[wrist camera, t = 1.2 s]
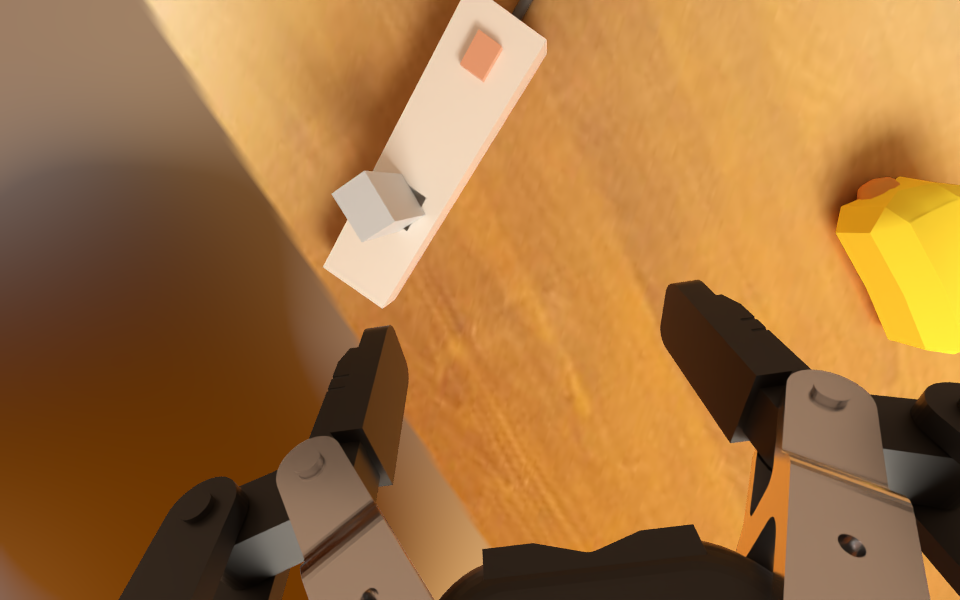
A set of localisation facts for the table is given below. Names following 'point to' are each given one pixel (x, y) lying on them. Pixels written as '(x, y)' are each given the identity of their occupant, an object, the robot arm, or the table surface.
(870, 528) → the robot arm
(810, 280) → the table surface
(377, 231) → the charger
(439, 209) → the power strip
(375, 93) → the table surface
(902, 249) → the yellow banana
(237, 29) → the table surface
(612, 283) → the table surface
